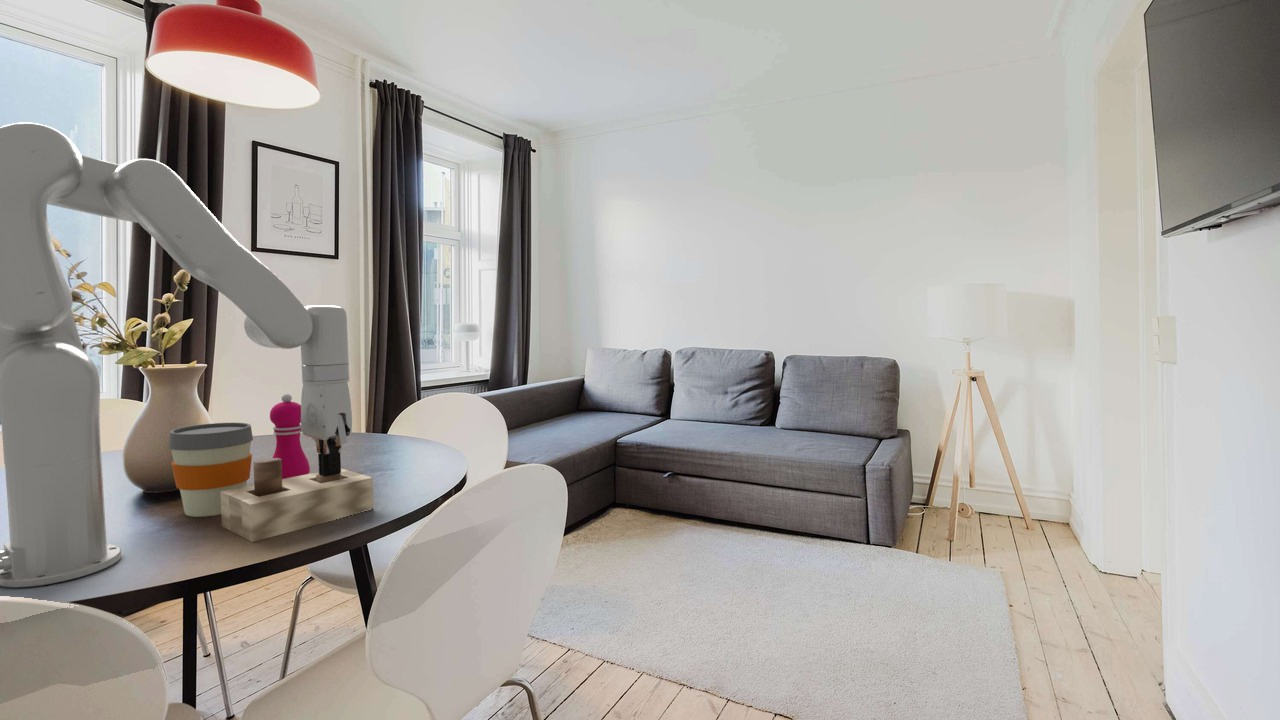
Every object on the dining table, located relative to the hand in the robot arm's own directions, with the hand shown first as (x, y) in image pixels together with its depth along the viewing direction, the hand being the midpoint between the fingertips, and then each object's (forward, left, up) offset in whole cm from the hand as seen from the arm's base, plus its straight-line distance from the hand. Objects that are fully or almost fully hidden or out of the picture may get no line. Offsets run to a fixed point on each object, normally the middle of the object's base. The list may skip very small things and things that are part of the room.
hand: (330, 474), depth 109 cm
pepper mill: (+1, +18, -7) cm, 19 cm away
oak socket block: (-5, 0, -7) cm, 9 cm away
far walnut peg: (0, 0, -6) cm, 6 cm away
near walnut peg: (-10, 0, -2) cm, 10 cm away
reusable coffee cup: (-12, +18, -7) cm, 23 cm away
